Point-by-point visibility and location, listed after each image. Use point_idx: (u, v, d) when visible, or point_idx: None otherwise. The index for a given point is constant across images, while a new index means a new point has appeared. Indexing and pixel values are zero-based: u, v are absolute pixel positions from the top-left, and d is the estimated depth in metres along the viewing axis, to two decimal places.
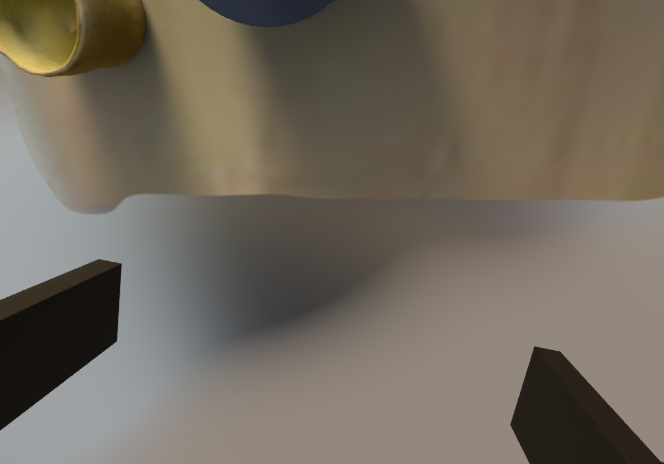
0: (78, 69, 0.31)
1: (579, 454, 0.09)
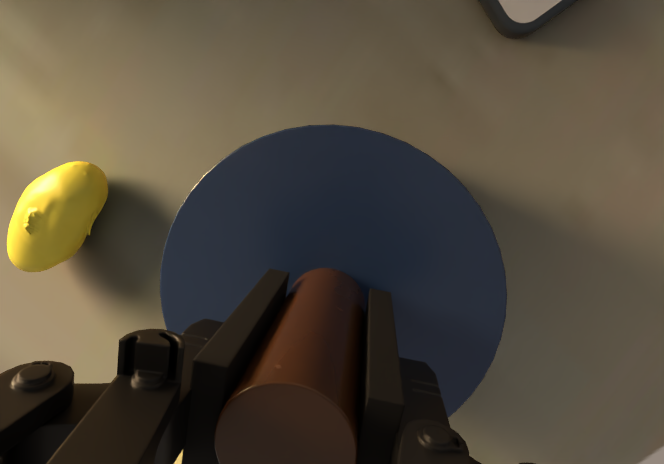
0: None
1: (362, 358, 0.12)
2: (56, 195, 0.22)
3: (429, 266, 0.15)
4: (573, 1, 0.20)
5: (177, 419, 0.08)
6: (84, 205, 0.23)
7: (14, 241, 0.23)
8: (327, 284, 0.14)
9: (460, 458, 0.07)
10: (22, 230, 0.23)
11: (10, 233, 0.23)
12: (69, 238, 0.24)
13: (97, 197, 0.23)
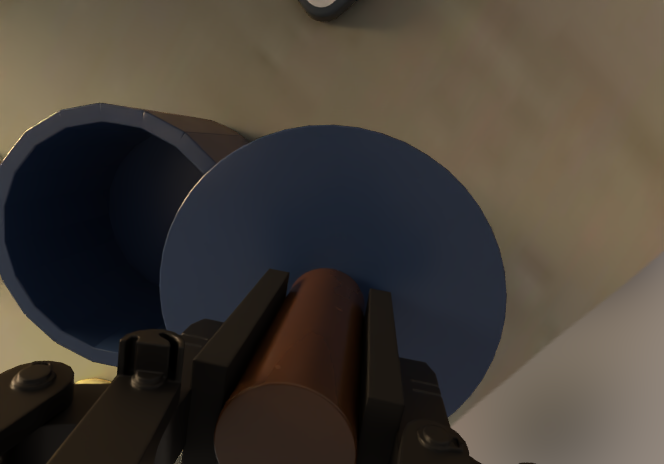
0: None
1: (362, 358, 0.12)
2: None
3: (429, 266, 0.15)
4: None
5: (177, 419, 0.08)
6: None
7: None
8: (327, 284, 0.14)
9: (460, 458, 0.07)
10: None
11: None
12: None
13: None
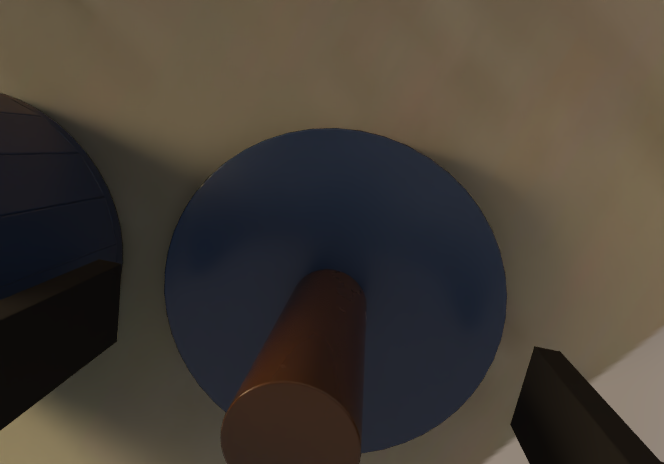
0: None
1: (579, 454, 0.09)
2: None
3: (430, 267, 0.15)
4: None
5: None
6: None
7: None
8: (330, 285, 0.14)
9: None
10: None
11: None
12: None
13: None
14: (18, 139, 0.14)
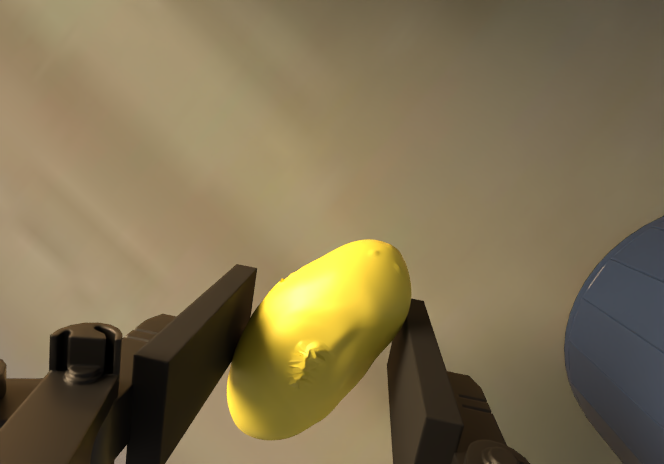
0: None
1: (403, 371, 0.11)
2: (361, 316, 0.11)
3: None
4: None
5: (116, 413, 0.08)
6: (397, 328, 0.12)
7: (259, 397, 0.12)
8: None
9: None
10: (284, 382, 0.12)
11: (250, 381, 0.12)
12: (352, 384, 0.13)
13: (408, 309, 0.12)
14: None
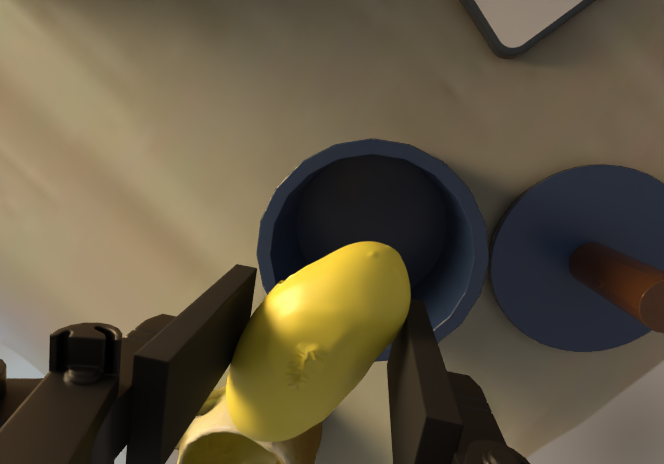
0: None
1: (403, 371, 0.11)
2: (360, 319, 0.11)
3: (654, 240, 0.28)
4: (551, 31, 0.26)
5: (117, 413, 0.08)
6: (396, 330, 0.12)
7: (258, 399, 0.12)
8: (613, 249, 0.26)
9: None
10: (282, 384, 0.12)
11: (249, 383, 0.12)
12: (351, 386, 0.13)
13: None
14: None
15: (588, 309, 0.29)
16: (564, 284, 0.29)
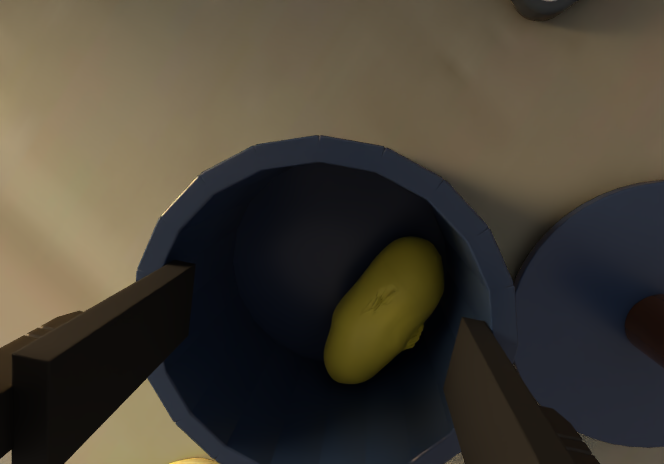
0: None
1: (480, 402, 0.10)
2: (440, 298, 0.18)
3: None
4: None
5: None
6: None
7: (383, 366, 0.18)
8: None
9: None
10: None
11: (379, 364, 0.18)
12: None
13: None
14: None
15: (651, 388, 0.20)
16: (617, 352, 0.20)
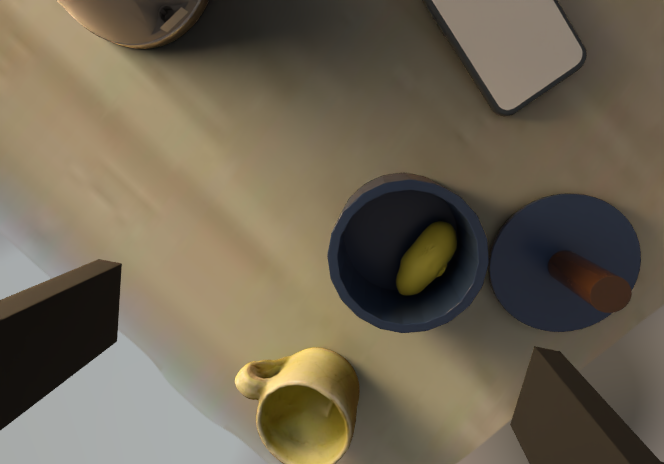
0: None
1: (579, 454, 0.09)
2: None
3: (609, 249, 0.38)
4: (534, 98, 0.36)
5: None
6: None
7: (426, 285, 0.38)
8: (578, 255, 0.37)
9: None
10: (435, 277, 0.38)
11: (425, 283, 0.37)
12: None
13: None
14: None
15: (562, 299, 0.39)
16: (544, 281, 0.39)
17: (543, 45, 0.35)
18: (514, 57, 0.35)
